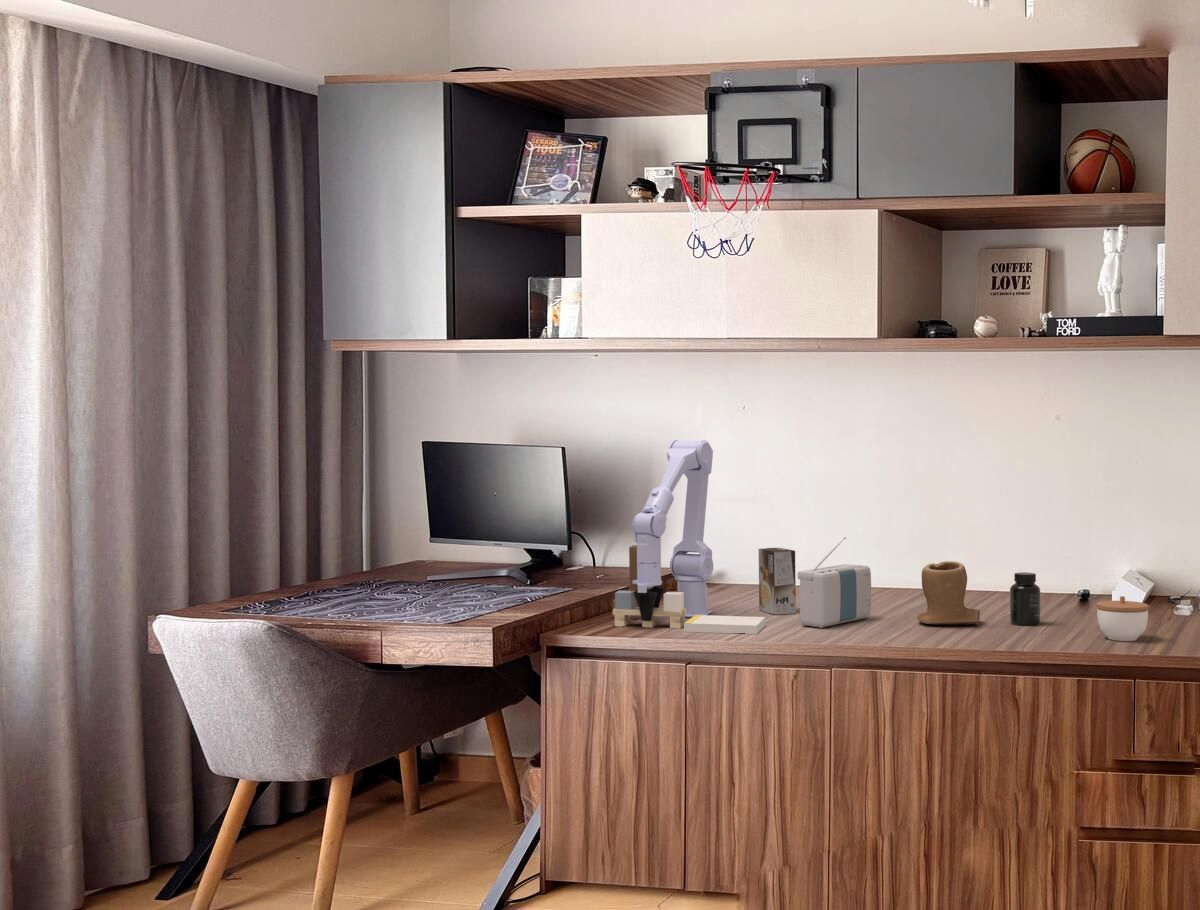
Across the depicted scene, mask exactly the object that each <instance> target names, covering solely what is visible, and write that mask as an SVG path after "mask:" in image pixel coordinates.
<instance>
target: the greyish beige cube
mask: <svg viewBox="0 0 1200 910" xmlns="http://www.w3.org/2000/svg"><path fill="white" fill-rule="evenodd" d="M663 608H664V611H682V610H683V609H684V592H678V591H666V592H664V593H663Z"/></svg>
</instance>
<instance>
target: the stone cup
mask: <svg viewBox="0 0 1200 910" xmlns="http://www.w3.org/2000/svg"><path fill="white" fill-rule="evenodd" d="M967 586H968V573H967V570H966V567H965V565H964V564H963V563H961V562H959V561H953V560H952V561H948V560H947V561H946V560H945V561H941V562H939V563H928V564H926V565H925V566H924V567H923V568H922V569H921V588H922V591H923V594H924V597H925V599H926V605H927V606H926V607H927V610H926V611H925V612H922V613H919V614H918V615H917V616H916V619H917V621H919V622H921V623H923V624H928V625H940V626H941V625H944V626H945V625H946V626H947V625H949V626H950V625H951V626H956V625H957V626H962V625H963V626H964V625H966V626H968V625H978V624H979V622H980V614H981V610H980V608H979V609H978V608H967V607H966V606H965V595H966V591H967Z"/></svg>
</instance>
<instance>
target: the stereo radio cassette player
mask: <svg viewBox="0 0 1200 910" xmlns="http://www.w3.org/2000/svg"><path fill="white" fill-rule="evenodd" d="M846 539H847V537H846V536H844V537H843V539H842V540H841V541H840V542H838V543H837V545H836V546H835V547H833V549H831V550H830V551H829V552H828V553H827V555H826V556H824V558H822V559H821V561H820V562H819V563H818V564H817V565H816V566H815V567H814V568H812V569H806V570H800V571H797V580H799V603H800V605H799V607H800V609H799V611H800V612H799V613H800V614H799V615H800V616H799V617H800V618H799V620H800V622H801V625H802V626H804V627H807V626H808V627H813V628H814V627H815V628H819V629H823V628H826V627H831V626H835V625H839V624H843V623H847V622H848V623H849V622H854V621H858V620H865V619H867V617H868V616H871V613H872V572H871V568H870V567H869V566H868V565H862V564H861V565H860V564H847V563H845V564H837V565H831V566H826V567H820V566H821V565H822V564H823V563H824V562H825V561H826V560H827V559H828V557H830V556H831V554H833V552H834V551H836V549H837V547H839V546H840V545H841V543H842V542H843V541H844V540H846Z"/></svg>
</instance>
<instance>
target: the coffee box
mask: <svg viewBox="0 0 1200 910" xmlns="http://www.w3.org/2000/svg"><path fill="white" fill-rule="evenodd" d="M796 583H797V582H796V550H793V549H790V548H789V549H788V548H784V547H767V548H758V596H759V597H758V599H759V601H758V602H759V604H758V609H759V612H760V611H761V612H765V613H768V614H772V615H774V616H775V615H776V616H777V615H790V614H794V615H795V614H796V613H797V609H796V608H797V603H796V601H797V598H796V595H797V592H796V591H797V588H796Z"/></svg>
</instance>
